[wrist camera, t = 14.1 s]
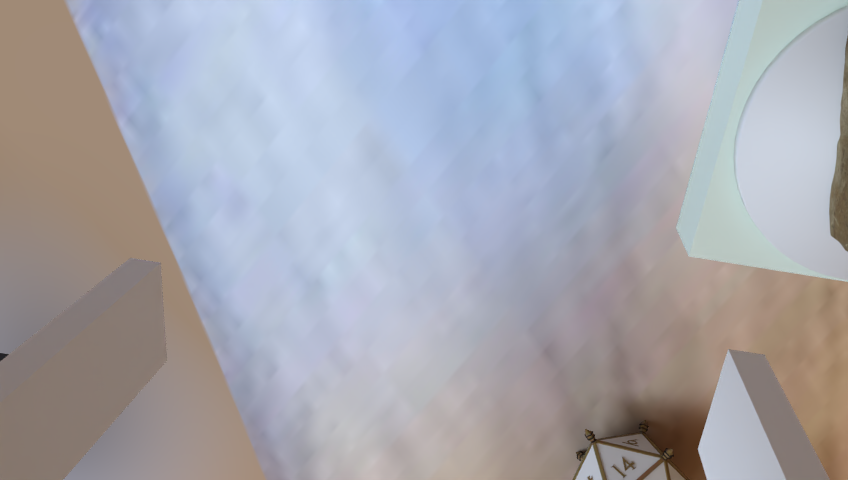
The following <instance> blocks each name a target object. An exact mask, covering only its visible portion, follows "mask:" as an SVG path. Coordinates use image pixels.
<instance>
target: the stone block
mask: <svg viewBox="0 0 848 480" xmlns="http://www.w3.org/2000/svg"><path fill="white" fill-rule="evenodd" d="M829 219H830V234H831V236H832V237H833V238H834V239H836V240H837V241H838V242H839V243H840V244H841V245H842V246H843V248H844V249H845V250H846V251H847V252H848V36H847V42H846V47H845V65H844V75H843V93H842V99H841V112H840V138H839V140H838V143H837V157H836V166H835V172H834V177H833V181H832V185H831V192H830V204H829Z"/></svg>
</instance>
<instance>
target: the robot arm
mask: <svg viewBox="0 0 848 480" xmlns="http://www.w3.org/2000/svg"><path fill="white" fill-rule="evenodd" d="M166 361H167V354H166V338H165V324H164V307H163V292H162V276H161V263H159V262H153V261H146V260H138V259H133V258H130V259H128V260H127V261H126V262H125V263H123V264H122V265H121V266H120V267H118V268H117V269H116V270H115V271H113V272H112V273H111V274H110V275H108V276H107V277H106V278H105V279H104V280H102V281H101V282H100V283H98V284H97V285H96V286H94V287H93V288H92V289H91V290H90V291H88V292H87V293H86V294H85V295H83V296H82V297H81V298H79V299H78V300H77V301H76V302H74V303H73V304H72V305H71V306H69V307H68V308H67V309H66V310H64V311H63V312H62V313H61V314H59V315H58V316H57V317H56V318H54V319H53V320H52V321H50V322H49V323H48V324H47V325H45V326H44V327H43V328H42V329H40V330H39V331H38V332H37V333H35V334H34V335H33V336H32V337H30V338H29V339H28V340H27V341H26V342H24V343H23V344H22V345H20V346H19V347H18V348H17V349H15V350H14V351H13V352H12V353H11V354H3V353H0V480H63V479H64V478H65V477H66V476H67V475H68V473H69V472H70V471H71V470H72V469H73V468H74V467H75V465H76V464H77V463H78V462H79V461H80V460H81V458H82V457H83V456H84V455H85V454H86V453H87V452H88V450H89V449H90V448H91V447H92V446H93V445H94V444H95V442H96V441H97V440H98V439H99V438H100V437H101V436H102V434H103V433H104V432H105V431H106V430H107V429H108V428H109V426H110V425H111V424H112V423H113V422H114V420H115V419H116V418H117V417H118V416H119V415H120V414H121V413H122V412H123V410H124V409H125V408H126V407H127V406H128V405H129V403H130V402H131V401H132V400H133V399H134V398H135V397H136V395H137V394H138V393H139V392H140V391H141V390H142V389H143V387H144V386H145V385H146V384H147V383H148V381H150V379H151V378H152V377H153V376H154V375H155V374H156V373H157V371H158V370H159V369H160V368H161V367H162V366H163V365H164V363H165V362H166ZM698 451H699V455H700V458H701V461H702V465H703V468H704V471H705V475H706V478H707V480H830V479H829V477H828V475H827V473H826V472H825V470H824V468H823V466H822V464H821V462H820V460H819V458H818V456H817V454H816V452H815V451H814V449H813V447H812V445H811V443H810V441H809V439H808V437H807V435H806V433H805V431H804V430H803V428H802V426H801V424H800V422H799V420H798V418H797V416H796V414H795V412H794V410H793V409H792V407H791V405H790V403H789V401H788V399H787V397H786V395H785V393H784V391H783V389H782V388H781V386H780V384H779V382H778V380H777V378H776V376H775V374H774V372H773V370H772V368H771V366H770V365H769V363H768V361H767V359H766V357H765V355H763V354H756V353H750V352H743V351H737V350H730V349H728V352H727V355H726V358H725V362H724V365H723V368H722V371H721V375H720V378H719V381H718V385H717V388H716V391H715V394H714V398H713V401H712V404H711V407H710V411H709V414H708V417H707V421H706V424H705V427H704V430H703V434H702V437H701V440H700V443H699V447H698Z"/></svg>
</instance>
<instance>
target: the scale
mask: <svg viewBox="0 0 848 480" xmlns="http://www.w3.org/2000/svg"><path fill="white" fill-rule="evenodd" d="M847 36H848V0H739V3H738V6H737V10H736V13H735V17H734V21H733V24H732V28H731V32H730V35H729V39H728V42H727V46H726V50H725V53H724V57H723V61H722V64H721V68H720V72H719V75H718V79H717V82H716V86H715V90H714V93H713V97H712V101H711V104H710V108H709V111H708V115H707V119H706V122H705V126H704V130H703V133H702V137H701V140H700V144H699V148H698V151H697V155H696V159H695V162H694V166H693V169H692V173H691V177H690V180H689V184H688V188H687V191H686V195H685V198H684V202H683V206H682V209H681V213H680V217H679V220H678V224H677V227H676V229H677V231H678V233H679V236H680V238H681V240H682V242H683V244H684V247H685V249H686V251H687V253H688V255H689V256H690V257H696V258H702V259H709V260H715V261H721V262H727V263H734V264H740V265H746V266H752V267H759V268H765V269H771V270H777V271H783V272H790V273H796V274H802V275H808V276H815V277H821V278H827V279H833V280H840V281H846V282H848V252H847V251H846V250H845V249H844V248H843V246H842V245H841V244H840V243H839V242H838V241H837V240H836V239H834V238H833V237H832V236H831V234H830V219H829V204H830V192H831V185H832V181H833V177H834V172H835V166H836V157H837V143H838V140H839V138H840V112H841V99H842V93H843V75H844V65H845V47H846V42H847Z"/></svg>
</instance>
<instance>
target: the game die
mask: <svg viewBox="0 0 848 480" xmlns="http://www.w3.org/2000/svg"><path fill="white" fill-rule="evenodd" d="M647 428H648V425H647V423H646V420H645V421H644V422H643V423H641V424H640V427H639V429H640V432H639V433H633V434H627V435H620V436H614V437H608V438H601V439H595V434H593V431H589V430H587V429H585V436H586V438H587V439H588V440H590V441H591V443H590V445H589V447H588V449H587V451H586V453H585V455H584V454H583V453H582V452H581V451H580V452H576V454H577V459H579V460H580V461H581V463H580V465H579V467H578V469H577V471H576V474H575V476H574V478H573V480H689V479H688V478H687V477H686V476H685V475H684V474H683V473H682V472H681V471H680V470H679V469H678V468H677V466H676V465H675V464H674V463H673V462H672V461H671V460H670V458H671V457H672V456H674V455H673V449H667V448H666V450H665V451H664V452H662V451H661V450H660V449H659V448H658V447H657V446H656V445H655V444H654V443H653V441H652V440H651V439H650V438H649V437H648V436H647V435H646V434H645V432H646V431H647Z"/></svg>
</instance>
